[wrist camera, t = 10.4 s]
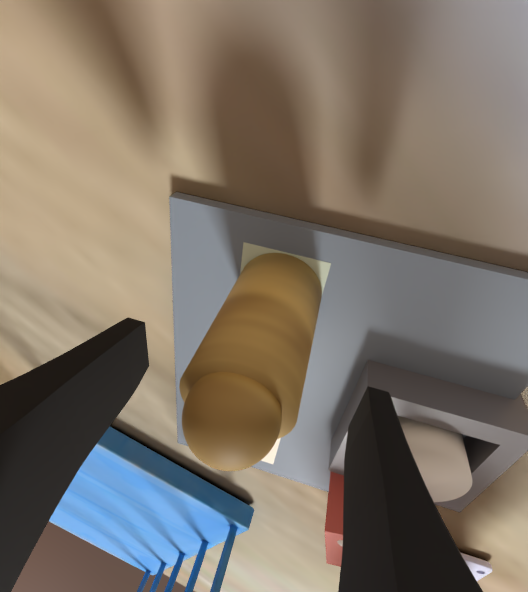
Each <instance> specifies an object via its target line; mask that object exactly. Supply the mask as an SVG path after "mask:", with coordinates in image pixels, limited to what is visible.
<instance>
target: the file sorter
mask: <svg viewBox="0 0 528 592" xmlns="http://www.w3.org/2000/svg"><path fill="white" fill-rule="evenodd" d="M253 512H254V509H253V508H252V507H251V506H249V505H247V504H245V503H244V502H242V501H240V500H238V499H237V498H235V497H233V496H231V495H230V494H228V493H226V492H224V491H222V490H221V489H219V488H217V487H215V486H214V485H212V484H210V483H208V482H206V481H205V480H203V479H201V478H199V477H198V476H196V475H194V474H192V473H191V472H189V471H187V470H185V469H184V468H182V467H180V466H178V465H177V464H175V463H173V462H171V461H170V460H168V459H166V458H164V457H163V456H161V455H159V454H157V453H156V452H154V451H152V450H150V449H149V448H147V447H145V446H143V445H142V444H140V443H138V442H136V441H135V440H133V439H131V438H129V437H127V436H126V435H124V434H122V433H120V432H119V431H117V430H115V429H113V428H112V427H110V426H109V428H108V429H107V431H106V432H105V433H104V435H103V436H102V437H101V439H100V440H99V441H98V443H97V444H96V446H95V447H94V448H93V450H92V451H91V452H90V454H89V455H88V457H87V458H86V460H85V461H84V463H83V464H82V466H81V467H80V469H79V470H78V472H77V474H76V475H75V477H74V479H73V480H72V482H71V484H70V485H69V487H68V489H67V490H66V492H65V494H64V495H63V497H62V499H61V500H60V502H59V504H58V506H57V507H56V509H55V511H54V513H53V514H52V516H51V518H50V520H49V521H50V522H51V523H53V524H55V525H57V526H59V527H61V528H63V529H65V530H66V531H68V532H70V533H72V534H74V535H76V536H78V537H80V538H81V539H83V540H85V541H87V542H89V543H91V544H93V545H95V546H97V547H99V548H101V549H102V550H105V551H106V552H108V553H110V554H112V555H114V556H116V557H118V558H120V559H122V560H124V561H126V562H127V563H130V564H131V565H133V566H135V567H137V568H139V569H141V570H143V571H145V575H144V577H143V579H142V581H141V584H140V586H139V588H138V590H137V592H142V591H143V589H144V586H145V584H146V582H147V580H148V577H149V575H150V574H151V575H155V574H157V575H156V577H155V579H154V582H153V584H152V587H151V589H150V592H155V591H156V589H157V586H158V584H159V581H160V579H161V576H162V574H163V571H164V570H165V569H167V568H169V567H171V566H173V565H175V566H174V568H173V571H172V573H171V576H170V579H169V581H168V584H167V586H166V589H165V592H171V591H172V588H173V586H174V583H175V580H176V578H177V575H178V572H179V570H180V567H181V564H182V562H183V561H184V560H186V559H188V558H190V557H192V556H194V555H196V554H198V555H197V557H196V560H195V563H194V566H193V569H192V572H191V575H190V578H189V581H188V583H187V586H186V589H185V592H193V589H194V586H195V583H196V579H197V576H198V573H199V571H200V568H201V565H202V562H203V558H204V555H205V552H206V550H207V549H209V548H211V547H213V546H215V545H217V544H219V543H221V542H224V541H225V545H224V548H223V551H222V554H221V558H220V561H219V564H218V568H217V571H216V574H215V577H214V581H213V584H212V587H211V591H210V592H220V588H221V585H222V582H223V578H224V575H225V571H226V568H227V564H228V560H229V557H230V553H231V550H232V546H233V543H234V539H235V536H236V535H238V534H241V533H243V532H245V531H247V530H248V529H249V526H250V523H251V519H252V516H253Z"/></svg>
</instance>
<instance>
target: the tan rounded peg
mask: <svg viewBox="0 0 528 592" xmlns="http://www.w3.org/2000/svg"><path fill="white" fill-rule="evenodd" d="M321 298H322V287H321V283H320V281H319V278H318V277H317V275H316V273H315V272H314V271H313V270H312V268H311V267H309V266H308V265H307V264H306V263H305V262H303V261H302V260H300V259H298V258H296V257H294V256H291V255H288V254H283V253H268V254H263V255H260V256H258V257H256V258H254V259H252V260H251V261H250V262H249V263H247V265H246V266H245V267H244V269H243V270H242V272H241V274H240V276H239V277H238V279H237V281H236V283H235V284H234V286H233V288H232V290H231V291H230V293H229V295H228V297H227V298H226V300H225V302H224V304H223V305H222V307H221V309H220V311H219V312H218V314H217V316H216V318H215V319H214V321H213V323H212V324H211V326H210V328H209V330H208V331H207V333H206V335H205V337H204V338H203V340H202V342H201V344H200V345H199V347H198V349H197V351H196V352H195V354H194V356H193V358H192V359H191V361H190V363H189V365H188V366H187V368H186V370H185V371H184V373H183V375H182V377H181V380H180V386H179V388H180V393H181V397H182V399H183V401H184V406H183V411H182V429H183V434H184V437H185V440H186V442H187V444H188V446H189V448H190V449H191V451H192V452H193V453H194V455H195V456H196V457H197V458H198V459H199V460H200V461H202V462H203V463H205V464H206V465H208V466H210V467H212V468H215V469H218V470H223V471H238V470H243V469H246V468H249V467H251V466H253V465H255V464H256V463H258V462H259V461H261V460H262V459H263V458H264V457H265V456H266V455H267V454H268V453H269V452H270V450H271V449H272V448H273V446H274V445H275V442H276V440H277V439H279V438H281V437H284V436H285V435H287V434H288V433H290V432H291V431H292V429H293V428H294V427H295V425H296V423H297V418H298V413H299V408H300V403H301V398H302V393H303V388H304V383H305V378H306V373H307V368H308V363H309V358H310V353H311V348H312V343H313V338H314V333H315V328H316V323H317V318H318V313H319V308H320V303H321Z"/></svg>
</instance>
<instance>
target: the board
mask: <svg viewBox="0 0 528 592" xmlns="http://www.w3.org/2000/svg"><path fill="white" fill-rule="evenodd" d="M169 199H170V228H171V258H172V287H173V316H174V346H175V375H176V404H177V434H178V443H180V444H183V445H186V446H188V444H187V442H186V440H185V437H184V434H183V429H182V411H183V406H184V401H183V399H182V397H181V393H180V388H179V386H180V380H181V377H182V375H183V373H184V371H185V370H186V368H187V366H188V365H189V363H190V361H191V359H192V358H193V356H194V354H195V352H196V351H197V349H198V347H199V345H200V344H201V342H202V340H203V338H204V337H205V335H206V333H207V331H208V330H209V328H210V326H211V324H212V323H213V321H214V319H215V318H216V316H217V314H218V312H219V311H220V309H221V307H222V305H223V304H224V302H225V300H226V298H227V297H228V295H229V293H230V291H231V290H232V288H233V286H234V284H235V283H236V281H237V279H238V277H239V276H240V274H241V272H242V270H243V269H244V267H245V266H246V265H247V263H249V262H250V261H251V260H252V259H254V258H256V257H258V256H260V255H263V254H268V253H283V254H288V255H291V256H294V257H296V258H298V259H300V260H302V261H303V262H305V263H306V264H307V265H308V266H309V267H311V268H312V270H313V271H314V272H315V273H316V275H317V277H318V278H319V281H320V283H321V287H322V298H321V303H320V308H319V313H318V318H317V323H316V328H315V333H314V338H313V343H312V348H311V353H310V358H309V363H308V368H307V373H306V378H305V383H304V388H303V393H302V398H301V403H300V408H299V413H298V418H297V423H296V425H295V427H294V428H293V429H292V431H291V432H290V433H288V434H287V435H285V436H284V437H281V438H279V439H277V440H276V442H275V445H274V446H273V448H272V449H271V450H270V452H269V453H268V454H267V455H266V456H265V457H264V458H263V459H262V460H261V461H259V462H258V463H256V464H255V465H253V466H251V467H254V468H257V469H260V470H263V471H266V472H269V473H272V474H275V475H278V476H281V477H284V478H287V479H290V480H293V481H297V482H300V483H303V484H306V485H309V486H312V487H315V488H318V489H321V490H324V491H327V492H329V483H330V472H331V471H328V469H329V459H330V449H331V440H332V438H333V436H334V434H335V432H336V429H337V427H338V425H339V423H340V420H341V418H342V416H343V414H344V412H345V409H346V407H347V405H348V403H349V400H350V398H351V396H352V394H353V392H354V389H355V387H356V385H357V383H358V380H359V378H360V376H361V374H362V372H363V369H364V367H365V365H366V363H367V361H368V360H371V361H375V362H378V363H382V364H386V365H389V366H393V367H397V368H400V369H404V370H408V371H411V372H415V373H419V374H422V375H426V376H430V377H433V378H437V379H441V380H444V381H448V382H452V383H455V384H459V385H463V386H466V387H470V388H474V389H477V390H481V391H484V392H488V393H492V394H495V395H499V396H503V397H506V398H510V399H514V400H515V399H516V398H517V397H518V396H519V395H520V394H521V393H522V391H523V390H524V389H525V388H526V387H527V386H528V272H524V271H520V270H516V269H511V268H507V267H503V266H498V265H494V264H490V263H485V262H481V261H476V260H472V259H468V258H463V257H459V256H455V255H450V254H446V253H441V252H437V251H433V250H428V249H424V248H420V247H415V246H411V245H406V244H402V243H398V242H393V241H389V240H385V239H380V238H376V237H372V236H367V235H363V234H358V233H354V232H350V231H345V230H341V229H337V228H332V227H328V226H323V225H319V224H315V223H310V222H306V221H302V220H297V219H293V218H288V217H284V216H280V215H275V214H271V213H267V212H262V211H258V210H254V209H249V208H245V207H240V206H236V205H232V204H227V203H223V202H219V201H214V200H210V199H205V198H201V197H197V196H192V195H188V194H184V193H179V192H175V193H174V194H172V195H171V196H170V197H169ZM465 436H466V435H464V434H462V437H463V439H464V438H465Z"/></svg>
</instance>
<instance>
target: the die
mask: <svg viewBox="0 0 528 592" xmlns="http://www.w3.org/2000/svg"><path fill="white" fill-rule="evenodd" d="M343 500H344V475H341V474H337V473H334V472H330V483H329V493H328V503H327V513H326V523H325V543H326V560H327V563H328V564H332V565H336V566H340V567H341V562H342V547H343Z"/></svg>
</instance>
